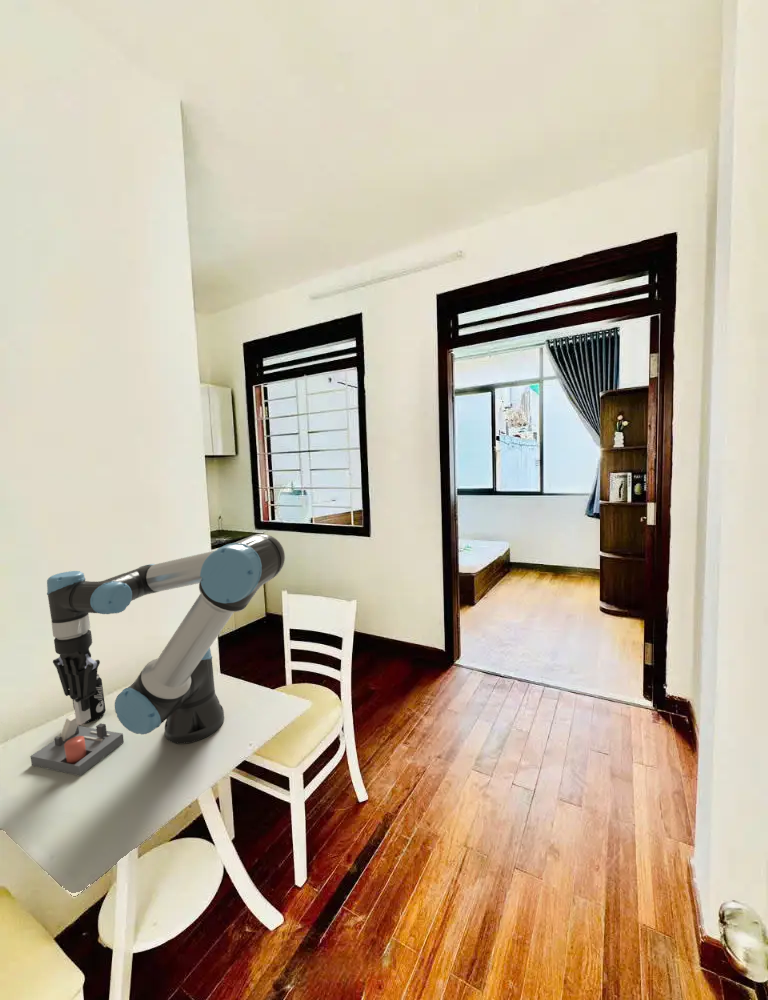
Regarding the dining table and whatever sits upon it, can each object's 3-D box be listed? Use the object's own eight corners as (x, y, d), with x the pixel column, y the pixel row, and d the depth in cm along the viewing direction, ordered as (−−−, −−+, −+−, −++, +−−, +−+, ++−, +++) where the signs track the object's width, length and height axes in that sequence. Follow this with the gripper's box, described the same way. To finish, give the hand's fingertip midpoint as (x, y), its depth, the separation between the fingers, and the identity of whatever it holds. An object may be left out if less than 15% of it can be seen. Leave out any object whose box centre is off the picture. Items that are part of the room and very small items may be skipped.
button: (90, 754, 104) (88, 737, 104) (74, 765, 100) (72, 748, 100) (78, 751, 105) (76, 734, 105) (62, 763, 102) (60, 745, 101)
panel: (123, 742, 111) (121, 726, 111) (80, 775, 100) (77, 758, 99) (78, 733, 116) (76, 718, 115) (31, 765, 104) (29, 748, 104)
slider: (107, 734, 110) (105, 724, 109) (102, 737, 109) (101, 727, 108) (101, 733, 110) (100, 723, 110) (97, 736, 109) (96, 726, 109)
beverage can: (92, 725, 119) (86, 685, 118) (73, 723, 121) (67, 684, 119) (111, 711, 126) (106, 673, 124) (93, 709, 127) (88, 672, 126)
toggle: (74, 735, 111) (81, 713, 109) (62, 743, 108) (70, 721, 106) (70, 732, 111) (78, 710, 109) (59, 740, 108) (66, 717, 107)
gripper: (106, 629, 106) (116, 715, 109) (68, 625, 110) (78, 709, 113) (77, 642, 99) (89, 734, 102) (37, 637, 103) (49, 726, 105)
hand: (83, 721), depth 107 cm, fingers closed
